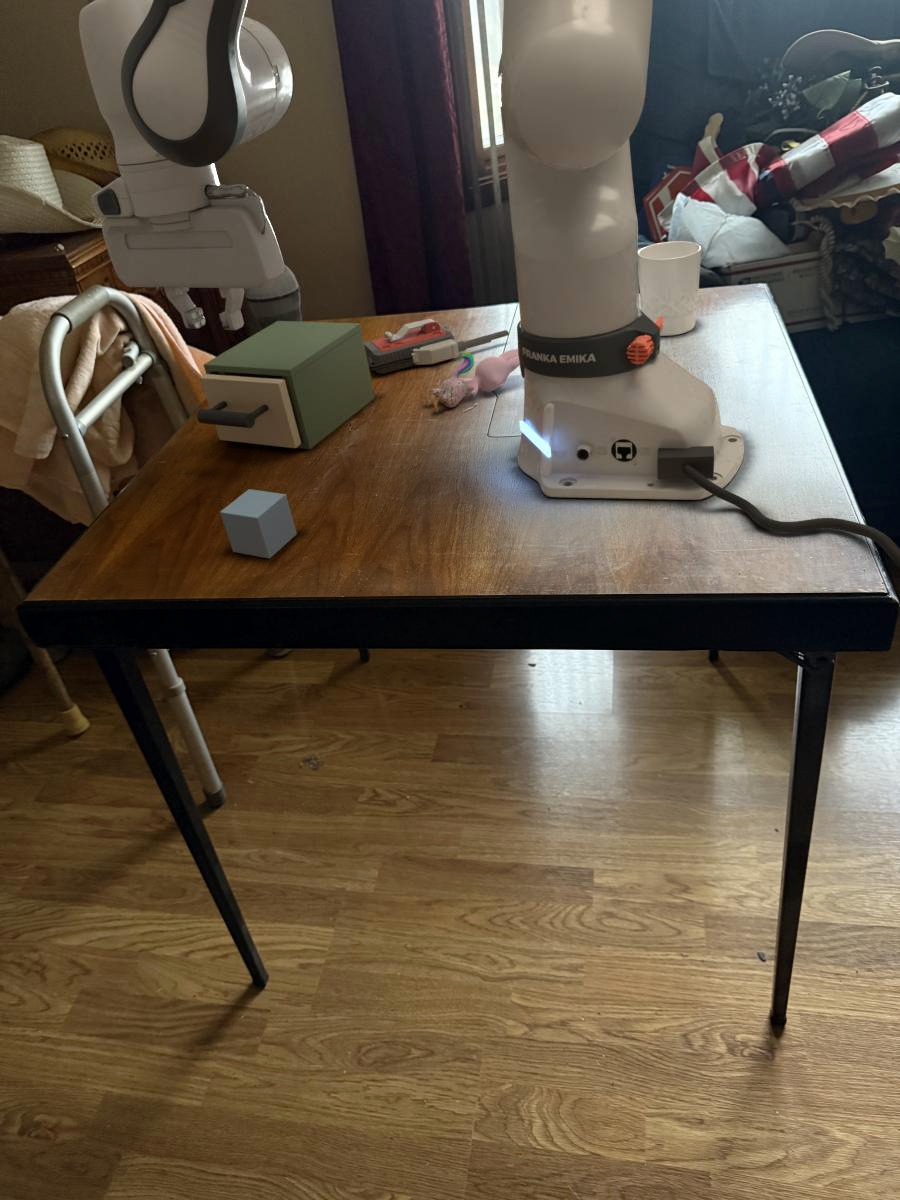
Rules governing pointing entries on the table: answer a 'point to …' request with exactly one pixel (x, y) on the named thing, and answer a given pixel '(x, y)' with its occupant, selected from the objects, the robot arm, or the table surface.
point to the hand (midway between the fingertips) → (215, 327)
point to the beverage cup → (276, 301)
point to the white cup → (670, 284)
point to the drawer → (251, 409)
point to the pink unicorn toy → (486, 376)
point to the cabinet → (308, 370)
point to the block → (258, 523)
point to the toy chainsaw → (418, 346)
